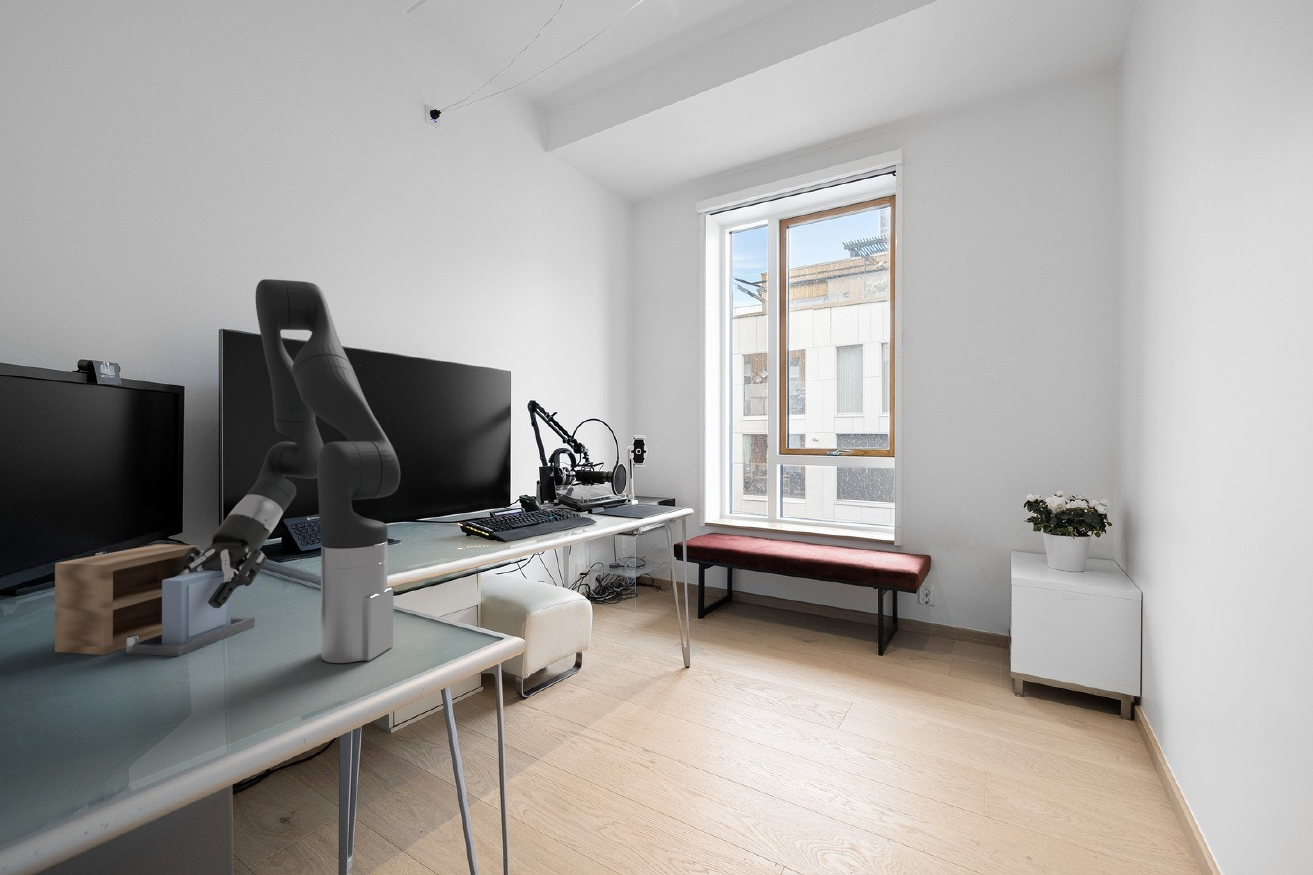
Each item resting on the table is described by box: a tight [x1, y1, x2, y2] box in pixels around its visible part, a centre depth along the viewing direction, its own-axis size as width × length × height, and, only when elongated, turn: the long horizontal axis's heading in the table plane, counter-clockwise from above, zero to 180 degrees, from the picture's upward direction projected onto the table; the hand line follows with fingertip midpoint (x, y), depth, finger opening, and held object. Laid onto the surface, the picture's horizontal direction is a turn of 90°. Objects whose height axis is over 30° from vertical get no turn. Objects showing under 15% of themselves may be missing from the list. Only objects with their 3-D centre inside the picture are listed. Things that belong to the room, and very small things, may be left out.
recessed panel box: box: [162, 569, 232, 644], centre depth 94 cm, size 4×9×11 cm, turn 173°
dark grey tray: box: [125, 616, 256, 657], centre depth 94 cm, size 10×14×2 cm, turn 173°
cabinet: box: [54, 543, 202, 656], centre depth 96 cm, size 9×16×14 cm, turn 173°
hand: (190, 604), depth 93 cm, fingers open, 8 cm apart
